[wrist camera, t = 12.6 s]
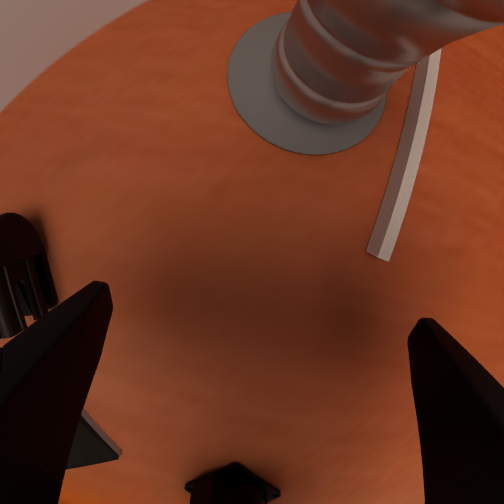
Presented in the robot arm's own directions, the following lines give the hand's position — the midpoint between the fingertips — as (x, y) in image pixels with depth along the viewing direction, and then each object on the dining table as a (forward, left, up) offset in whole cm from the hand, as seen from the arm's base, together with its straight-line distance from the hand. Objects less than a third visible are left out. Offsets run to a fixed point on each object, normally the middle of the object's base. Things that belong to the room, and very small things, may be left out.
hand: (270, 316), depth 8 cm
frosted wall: (0, -13, -11) cm, 17 cm away
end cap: (+11, +16, -11) cm, 22 cm away
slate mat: (+6, -9, -11) cm, 16 cm away
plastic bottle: (+6, -9, -11) cm, 15 cm away
